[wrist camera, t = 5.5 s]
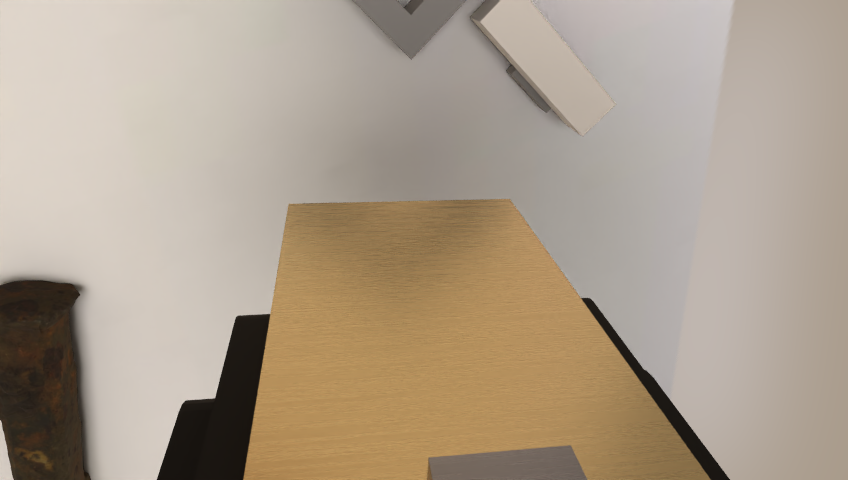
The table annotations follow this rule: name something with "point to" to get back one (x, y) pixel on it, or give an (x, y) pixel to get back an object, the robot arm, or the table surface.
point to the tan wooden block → (443, 357)
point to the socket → (507, 51)
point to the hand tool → (39, 382)
